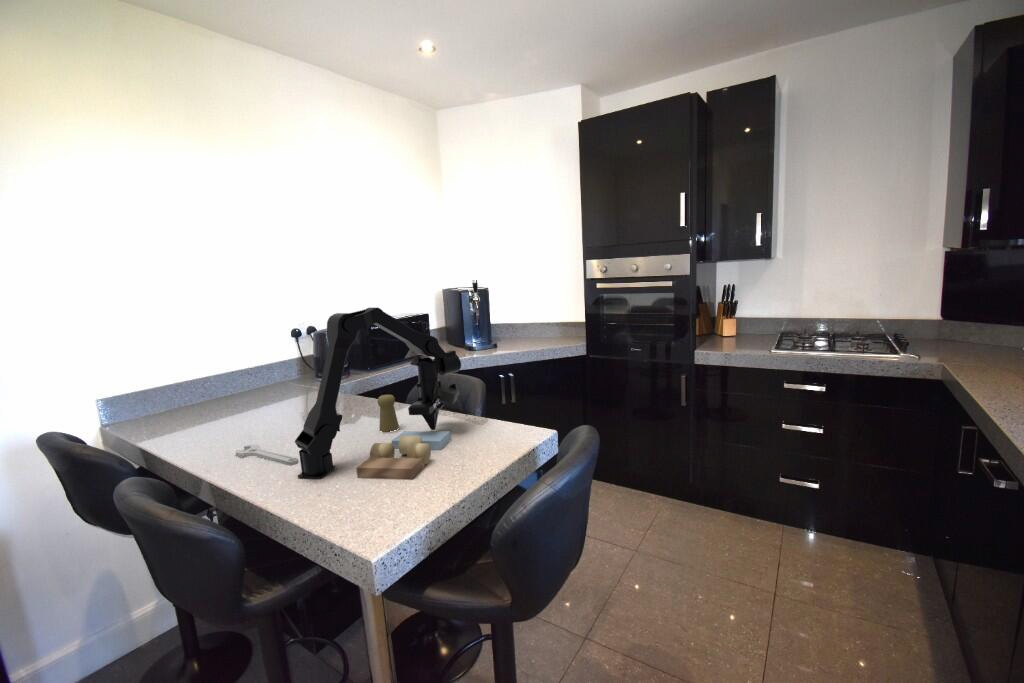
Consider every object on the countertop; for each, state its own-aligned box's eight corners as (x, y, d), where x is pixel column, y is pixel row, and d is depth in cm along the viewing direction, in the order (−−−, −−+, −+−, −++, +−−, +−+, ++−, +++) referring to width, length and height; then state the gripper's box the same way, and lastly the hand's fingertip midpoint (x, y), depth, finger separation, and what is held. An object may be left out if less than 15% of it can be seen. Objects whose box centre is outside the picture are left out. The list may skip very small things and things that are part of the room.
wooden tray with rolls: (357, 477, 107) (355, 457, 107) (380, 458, 118) (378, 440, 118) (412, 479, 104) (410, 458, 104) (431, 459, 115) (429, 440, 115)
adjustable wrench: (301, 464, 120) (300, 457, 120) (277, 473, 115) (276, 466, 115) (254, 448, 134) (253, 442, 134) (231, 456, 129) (230, 450, 129)
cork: (384, 434, 138) (380, 399, 136) (376, 430, 143) (372, 396, 141) (402, 429, 142) (399, 394, 140) (394, 425, 146) (390, 391, 145)
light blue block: (383, 456, 119) (381, 439, 119) (405, 439, 132) (403, 423, 132) (433, 457, 116) (431, 439, 116) (450, 439, 129) (449, 423, 129)
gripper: (443, 385, 123) (448, 441, 125) (464, 371, 141) (468, 419, 143) (405, 386, 125) (410, 440, 127) (430, 371, 143) (435, 419, 145)
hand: (433, 429), depth 135 cm, fingers closed
